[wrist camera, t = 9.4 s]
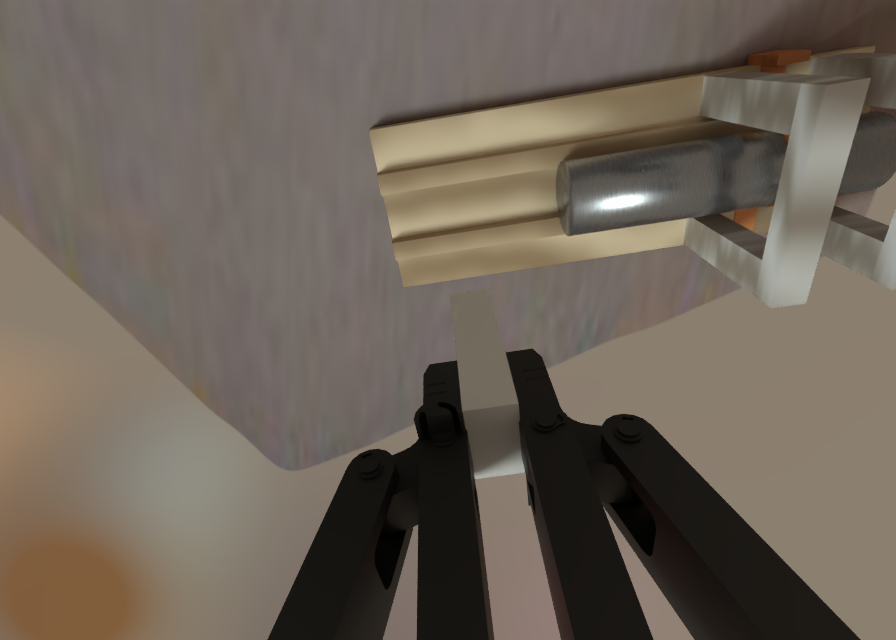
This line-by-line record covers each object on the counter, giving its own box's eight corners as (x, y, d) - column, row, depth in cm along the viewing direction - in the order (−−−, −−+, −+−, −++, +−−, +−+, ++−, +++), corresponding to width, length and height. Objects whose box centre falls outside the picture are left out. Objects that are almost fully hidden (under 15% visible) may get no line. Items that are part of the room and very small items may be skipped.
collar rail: (368, 118, 31) (340, 149, 21) (863, 35, 30) (1087, 25, 20) (404, 280, 38) (395, 364, 28) (814, 218, 36) (964, 282, 26)
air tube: (556, 222, 34) (575, 248, 30) (554, 153, 32) (574, 170, 27) (826, 181, 33) (886, 201, 29) (848, 106, 31) (917, 116, 26)
